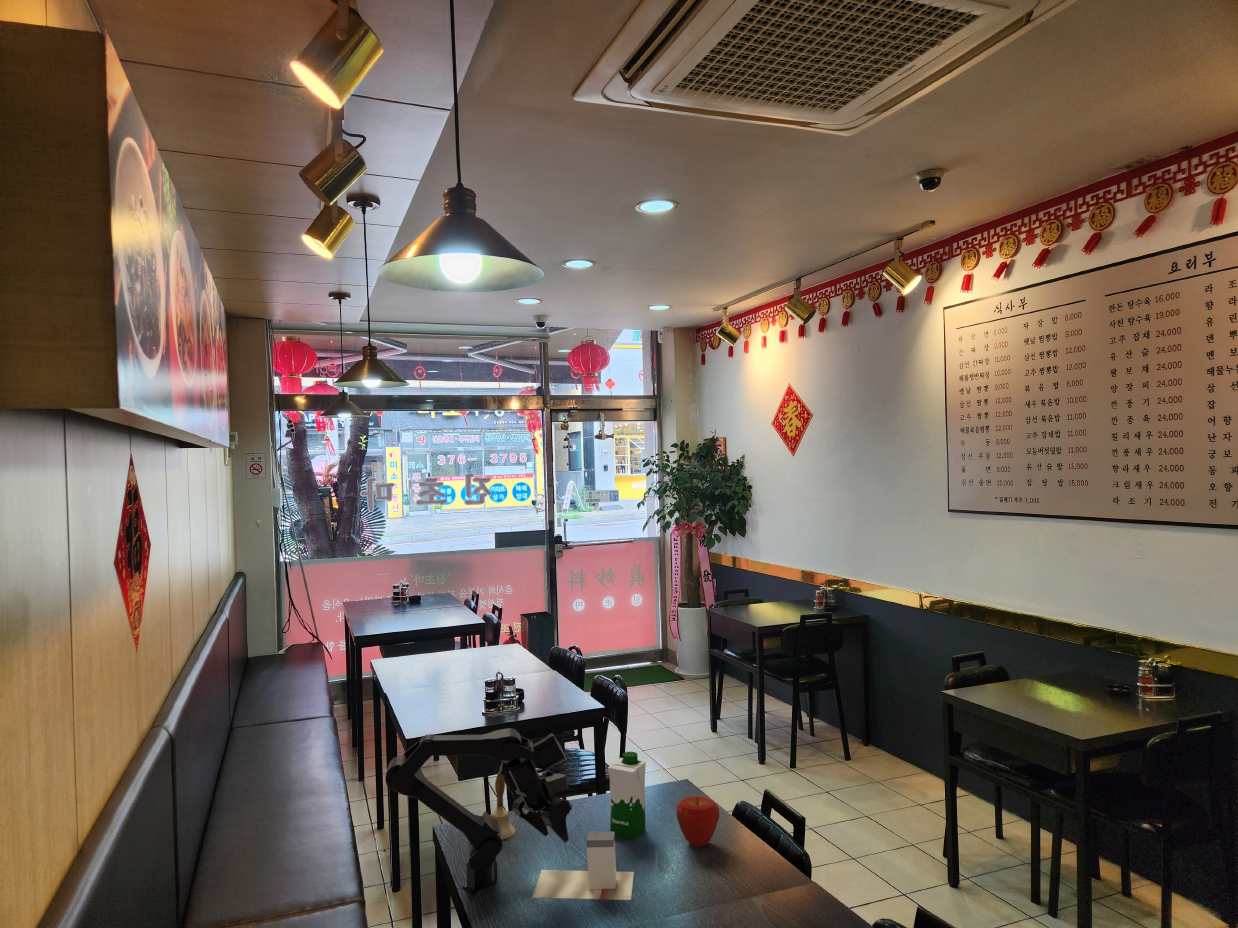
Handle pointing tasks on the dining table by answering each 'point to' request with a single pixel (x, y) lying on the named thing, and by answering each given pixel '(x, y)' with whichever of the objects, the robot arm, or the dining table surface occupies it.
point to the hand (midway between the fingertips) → (556, 837)
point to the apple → (697, 819)
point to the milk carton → (627, 796)
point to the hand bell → (500, 812)
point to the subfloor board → (580, 886)
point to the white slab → (601, 860)
